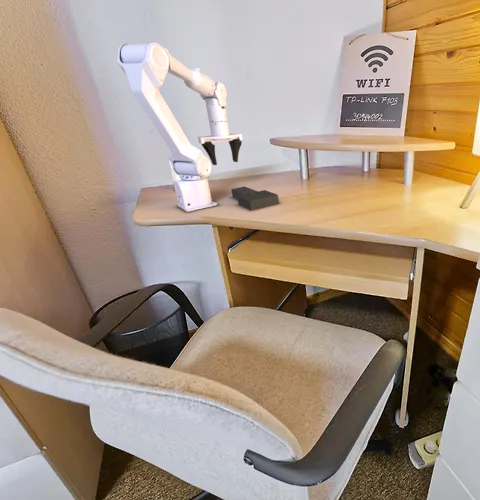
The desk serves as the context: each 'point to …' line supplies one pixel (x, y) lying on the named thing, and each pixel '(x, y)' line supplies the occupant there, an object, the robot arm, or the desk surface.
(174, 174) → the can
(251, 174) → the desk surface
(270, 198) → the notch pad
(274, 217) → the desk surface
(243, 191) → the tab pad
